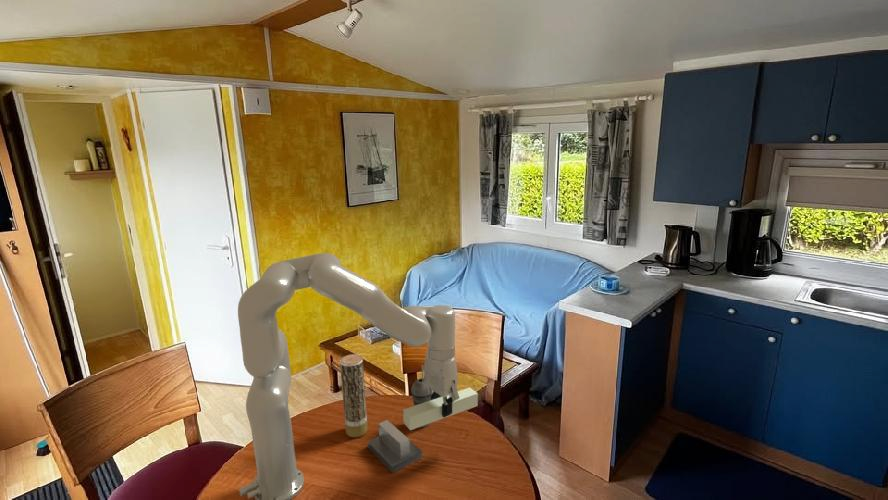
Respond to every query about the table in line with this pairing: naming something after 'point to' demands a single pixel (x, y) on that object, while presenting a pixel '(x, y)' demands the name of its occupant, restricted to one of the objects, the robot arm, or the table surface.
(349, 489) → the table surface
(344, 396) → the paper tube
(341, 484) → the table surface
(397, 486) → the table surface
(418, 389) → the beverage cup
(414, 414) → the batten
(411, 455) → the ridge stand
